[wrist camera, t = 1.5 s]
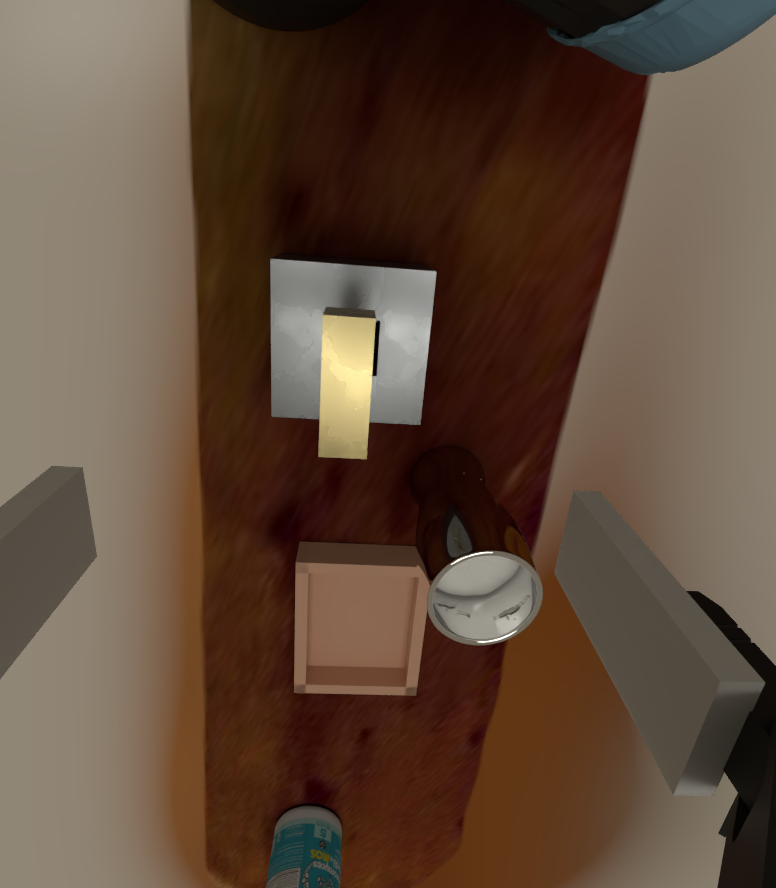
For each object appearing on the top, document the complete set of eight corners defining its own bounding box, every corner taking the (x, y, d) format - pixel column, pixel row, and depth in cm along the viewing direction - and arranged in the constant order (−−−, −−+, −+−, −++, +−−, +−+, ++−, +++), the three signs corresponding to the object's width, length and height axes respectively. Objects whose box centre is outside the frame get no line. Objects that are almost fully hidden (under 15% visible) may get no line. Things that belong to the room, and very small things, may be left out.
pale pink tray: (299, 541, 45) (295, 562, 43) (428, 546, 46) (432, 567, 43) (297, 666, 51) (294, 692, 48) (413, 669, 52) (415, 695, 49)
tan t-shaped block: (337, 280, 37) (322, 315, 24) (371, 283, 38) (375, 318, 24) (333, 377, 40) (318, 456, 27) (365, 379, 40) (366, 459, 27)
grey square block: (282, 253, 36) (270, 258, 32) (427, 264, 37) (436, 271, 33) (282, 393, 40) (271, 416, 36) (413, 401, 41) (420, 425, 36)
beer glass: (481, 519, 45) (533, 651, 32) (399, 514, 45) (416, 646, 31) (495, 444, 43) (559, 551, 29) (409, 437, 42) (431, 544, 28)
